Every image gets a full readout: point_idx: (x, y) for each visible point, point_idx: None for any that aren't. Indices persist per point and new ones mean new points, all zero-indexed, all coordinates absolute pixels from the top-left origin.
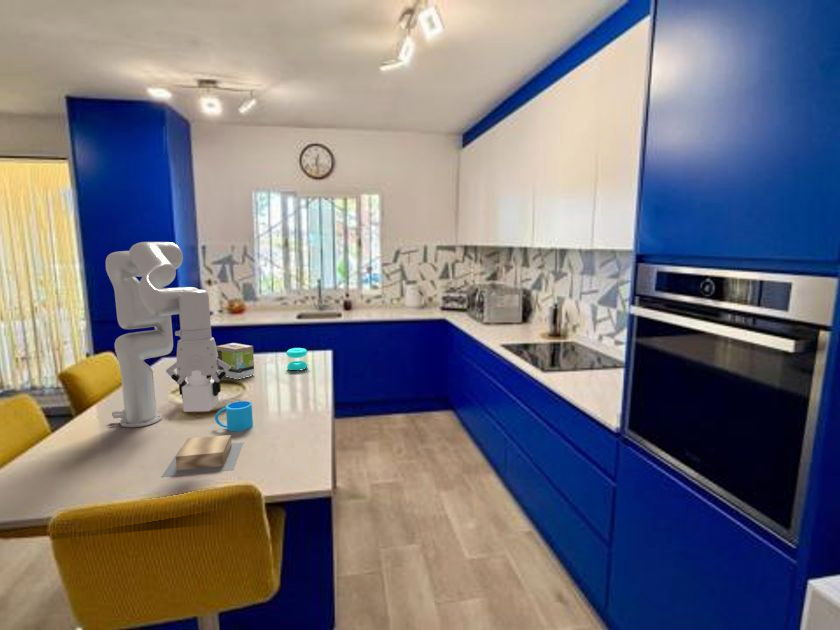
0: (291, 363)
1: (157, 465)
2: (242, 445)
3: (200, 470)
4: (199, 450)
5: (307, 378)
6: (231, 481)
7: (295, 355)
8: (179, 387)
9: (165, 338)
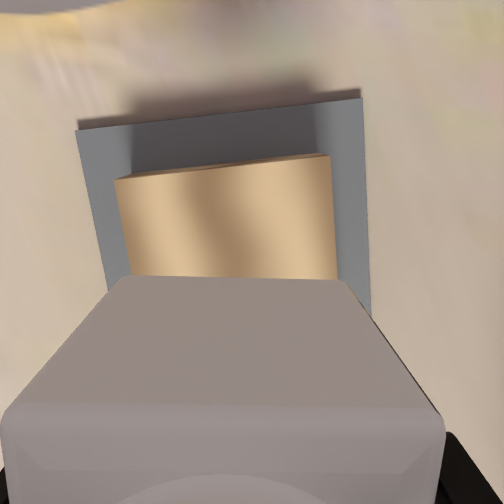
0: None
1: (417, 226)
2: None
3: (216, 139)
4: (238, 214)
5: None
6: (54, 41)
7: None
8: (493, 496)
9: None
